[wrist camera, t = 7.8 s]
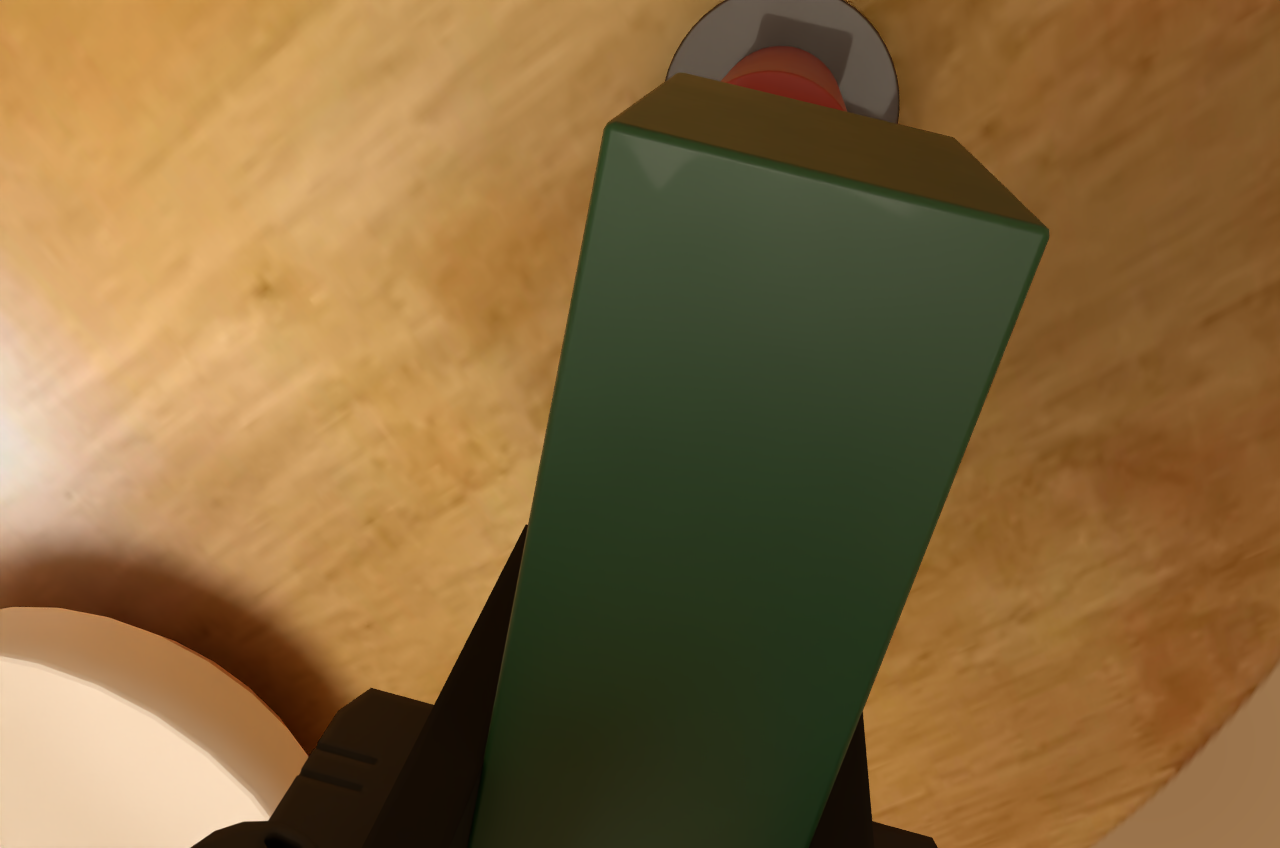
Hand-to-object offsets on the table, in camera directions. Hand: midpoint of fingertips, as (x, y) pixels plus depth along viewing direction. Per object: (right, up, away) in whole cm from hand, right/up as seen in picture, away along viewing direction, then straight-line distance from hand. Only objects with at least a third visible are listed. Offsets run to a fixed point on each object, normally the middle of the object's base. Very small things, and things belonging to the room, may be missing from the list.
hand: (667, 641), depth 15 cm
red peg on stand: (+3, +12, +11) cm, 16 cm away
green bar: (0, 0, 0) cm, 0 cm away
